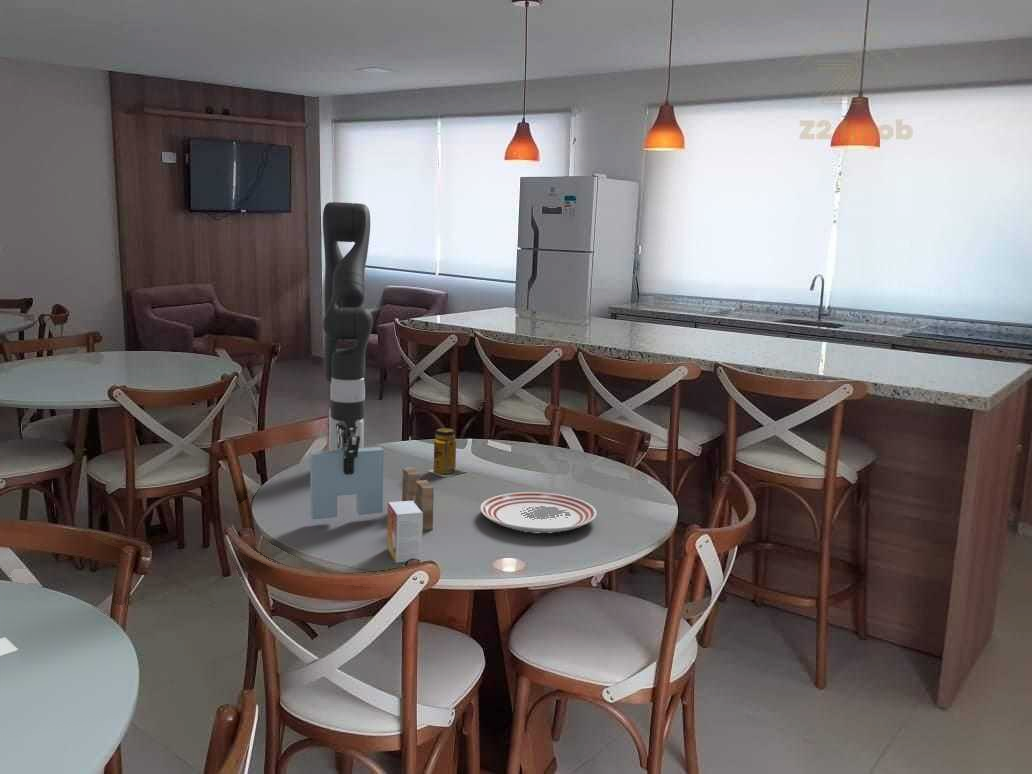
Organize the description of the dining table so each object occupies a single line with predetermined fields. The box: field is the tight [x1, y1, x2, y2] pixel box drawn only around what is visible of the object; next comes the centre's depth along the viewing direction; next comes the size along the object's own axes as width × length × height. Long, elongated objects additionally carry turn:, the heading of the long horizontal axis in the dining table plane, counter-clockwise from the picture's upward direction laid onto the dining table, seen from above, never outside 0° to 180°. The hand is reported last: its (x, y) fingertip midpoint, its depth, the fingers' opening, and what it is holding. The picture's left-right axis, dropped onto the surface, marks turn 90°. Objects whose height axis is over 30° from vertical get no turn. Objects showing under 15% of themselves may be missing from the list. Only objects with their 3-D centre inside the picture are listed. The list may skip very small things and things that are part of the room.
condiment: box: [428, 427, 468, 478], centre depth 241 cm, size 7×8×12 cm
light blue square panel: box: [309, 446, 385, 520], centre depth 199 cm, size 2×16×15 cm, turn 114°
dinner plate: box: [479, 491, 597, 534], centre depth 208 cm, size 27×27×3 cm
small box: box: [386, 500, 423, 564], centre depth 183 cm, size 8×6×10 cm
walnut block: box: [401, 466, 435, 532], centre depth 204 cm, size 16×2×10 cm, turn 24°
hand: (347, 471), depth 198 cm, fingers closed on light blue square panel, 2 cm apart
